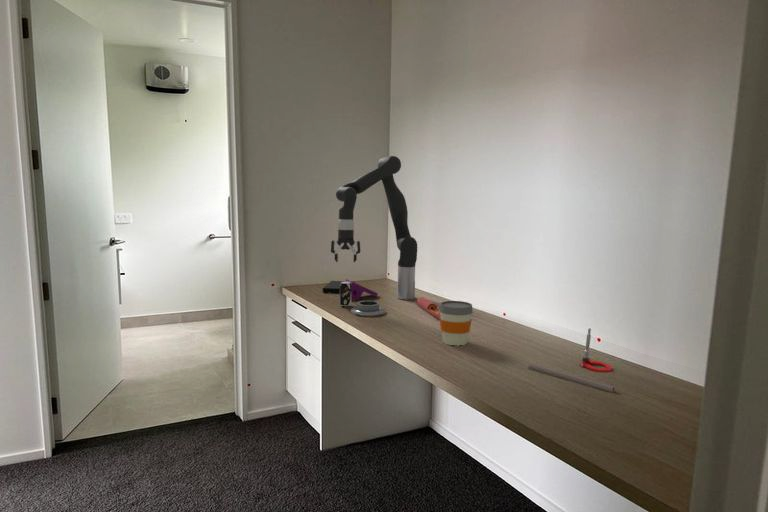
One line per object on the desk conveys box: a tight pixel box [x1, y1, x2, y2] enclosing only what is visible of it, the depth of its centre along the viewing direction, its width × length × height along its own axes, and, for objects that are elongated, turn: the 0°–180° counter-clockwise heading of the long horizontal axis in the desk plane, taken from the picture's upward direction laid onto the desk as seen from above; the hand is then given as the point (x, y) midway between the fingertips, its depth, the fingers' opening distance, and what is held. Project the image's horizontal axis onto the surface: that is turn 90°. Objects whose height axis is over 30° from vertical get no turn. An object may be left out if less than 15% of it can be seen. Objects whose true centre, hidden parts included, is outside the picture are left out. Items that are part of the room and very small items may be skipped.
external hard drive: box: [322, 280, 356, 294], centre depth 298 cm, size 14×23×3 cm, turn 174°
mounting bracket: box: [344, 278, 378, 300], centre depth 277 cm, size 9×8×18 cm
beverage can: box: [339, 280, 352, 307], centre depth 255 cm, size 6×6×12 cm
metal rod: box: [528, 363, 616, 393], centre depth 162 cm, size 2×27×2 cm, turn 46°
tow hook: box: [579, 328, 613, 373], centre depth 173 cm, size 8×13×9 cm
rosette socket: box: [350, 300, 386, 317], centre depth 243 cm, size 16×16×4 cm
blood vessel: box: [416, 296, 441, 321], centre depth 239 cm, size 42×5×5 cm, turn 16°
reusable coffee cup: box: [438, 300, 474, 347], centre depth 198 cm, size 13×13×15 cm
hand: (345, 261), depth 253 cm, fingers open, 8 cm apart
